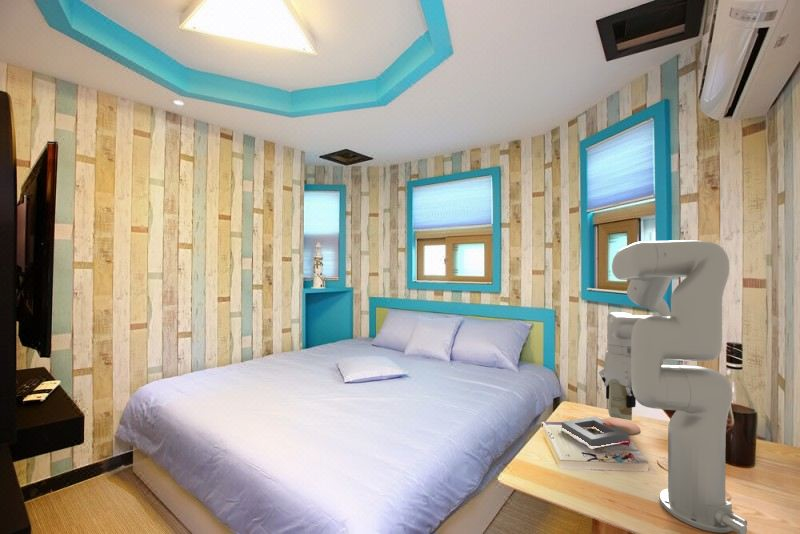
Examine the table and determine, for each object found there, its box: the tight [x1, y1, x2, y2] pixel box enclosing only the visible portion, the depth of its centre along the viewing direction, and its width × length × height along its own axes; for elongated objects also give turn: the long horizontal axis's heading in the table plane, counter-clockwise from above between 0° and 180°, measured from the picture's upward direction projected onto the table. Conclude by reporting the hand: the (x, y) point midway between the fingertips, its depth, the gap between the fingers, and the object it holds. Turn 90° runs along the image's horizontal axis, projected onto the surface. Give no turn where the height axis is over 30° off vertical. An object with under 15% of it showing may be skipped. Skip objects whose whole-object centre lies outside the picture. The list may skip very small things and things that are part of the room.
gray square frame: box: [561, 416, 630, 446], centre depth 109 cm, size 12×14×4 cm
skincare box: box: [607, 379, 633, 421], centre depth 116 cm, size 6×4×12 cm
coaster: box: [602, 417, 641, 436], centre depth 116 cm, size 11×11×1 cm
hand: (620, 402), depth 116 cm, fingers closed on skincare box, 7 cm apart
